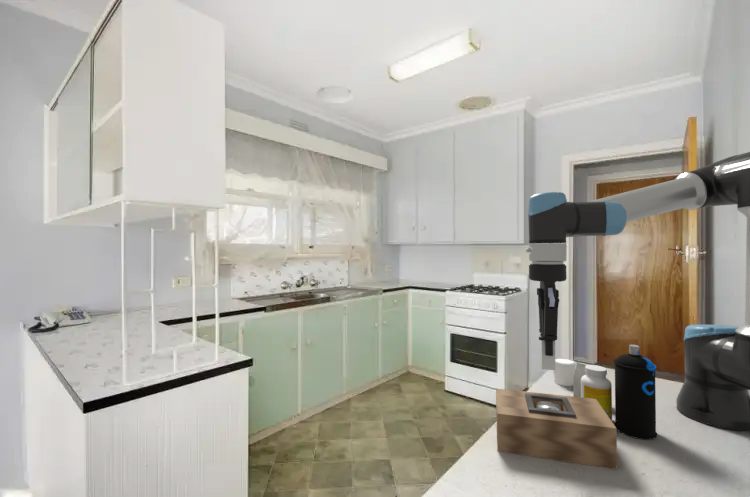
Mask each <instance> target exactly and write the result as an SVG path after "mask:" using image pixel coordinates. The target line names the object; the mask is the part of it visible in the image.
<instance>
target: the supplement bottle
mask: <svg viewBox="0 0 750 497" xmlns="http://www.w3.org/2000/svg"><path fill="white" fill-rule="evenodd" d="M607 371H608V370H607V368H606V367H604V366H600V365H595V364H586V366H585V372H586V375H584V376H582V378H581V397H582V398H592V399H596V400H597V401H598V403H599V404H600V405H601V407H602V408H603V410H604V411H605V413H606V414H607V415H608V417H609V418H610V420H611V421H612V422H613V399H612V398H613V395H612V388H613V387H612V386H613V385H612V382H611V380H610V379H608V378H607V375H608V372H607Z"/></svg>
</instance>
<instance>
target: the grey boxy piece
mask: <svg viewBox="0 0 750 497" xmlns="http://www.w3.org/2000/svg"><path fill="white" fill-rule="evenodd" d="M586 365H587V364H584V363H581V362H577V361H576V368H575V373H574V377H573V386H572V387H573V388H572V389H573V396H572V397H581V378H582V376H584V375H586V372H585V366H586Z"/></svg>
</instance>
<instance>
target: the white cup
mask: <svg viewBox="0 0 750 497" xmlns="http://www.w3.org/2000/svg"><path fill="white" fill-rule="evenodd" d="M576 364H577V361H575V360H573V359H570V358H565V357H555V370H552V374H553V382H554V383H555V384H557V385H560V386H563V387H573V377H574V373H575V369H576Z"/></svg>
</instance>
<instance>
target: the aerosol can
mask: <svg viewBox="0 0 750 497" xmlns="http://www.w3.org/2000/svg"><path fill="white" fill-rule="evenodd" d="M628 349H629V350H628V353H625V354H621V355H619V356H618V357H616V358H615V359H613V363H614V398H615V399H614V403H615V404H614V405H615V406H614V410H615V412H614V415H615V416H614V417H615V418H614V420H615V422H614V423H613V424H614V425H615V427H616V429H617V431H618V432H620V433H622V434H623V435H626V436H627V437H631V438H634V439H637V440H639V439H640V440H646V441H647V440H655V439H656V438H657V437H658V433H657V425H656V423H657V419H656V418H657V416H656V414H657V413H656V411H657V410H656V409H657V408H656V404H657V403H656V398H657V397H656V370H657V368H658V367H657V365H656V364H654V362H652V361H651V359H649V358H647V357H646V356H643V355H641V354H640V346H639V345H637V344H629V347H628Z"/></svg>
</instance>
